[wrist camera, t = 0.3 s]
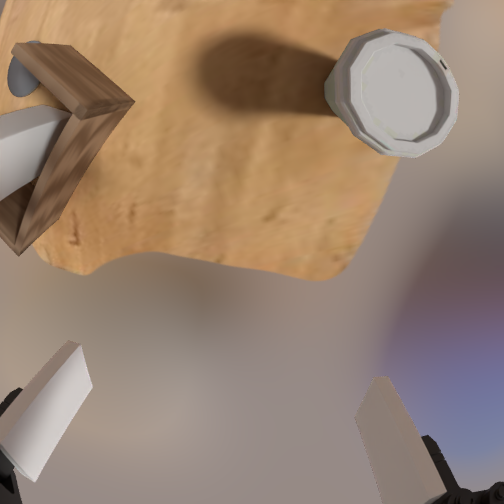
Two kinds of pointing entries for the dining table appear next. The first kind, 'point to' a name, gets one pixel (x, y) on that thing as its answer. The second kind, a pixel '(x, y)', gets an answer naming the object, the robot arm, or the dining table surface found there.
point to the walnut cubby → (62, 138)
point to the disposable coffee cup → (393, 93)
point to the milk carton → (27, 144)
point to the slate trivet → (21, 78)
